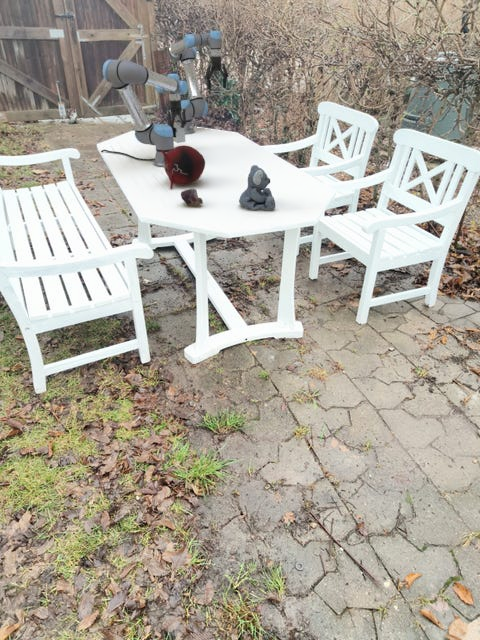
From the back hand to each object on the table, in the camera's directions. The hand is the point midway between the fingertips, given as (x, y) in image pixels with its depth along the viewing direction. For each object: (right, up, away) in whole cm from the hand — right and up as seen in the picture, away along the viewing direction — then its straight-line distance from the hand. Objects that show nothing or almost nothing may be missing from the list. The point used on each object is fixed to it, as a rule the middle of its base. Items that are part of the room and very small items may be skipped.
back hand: (217, 89), depth 336 cm
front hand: (-26, -44, -21) cm, 55 cm away
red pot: (-15, -92, -73) cm, 119 cm away
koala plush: (+26, -115, -106) cm, 158 cm away
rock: (-8, -114, -104) cm, 154 cm away
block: (-26, -47, -19) cm, 57 cm away
